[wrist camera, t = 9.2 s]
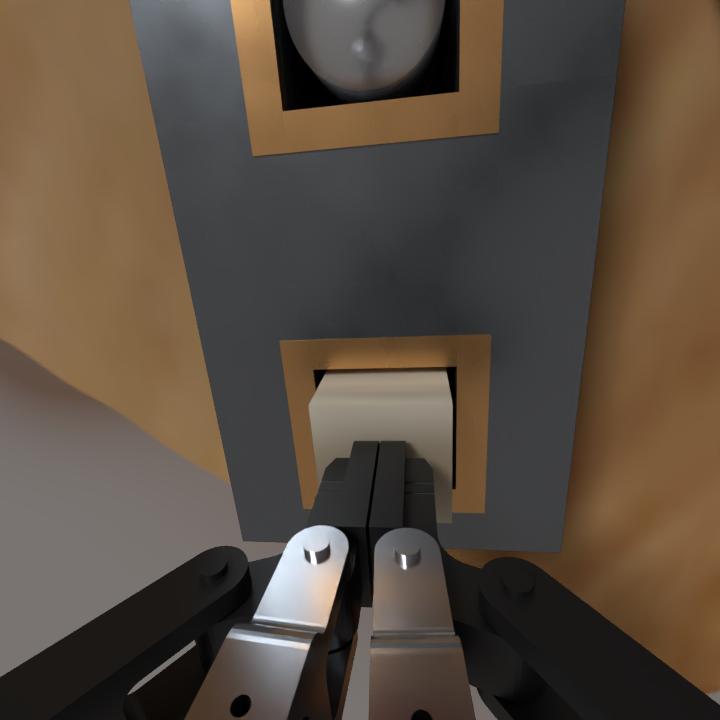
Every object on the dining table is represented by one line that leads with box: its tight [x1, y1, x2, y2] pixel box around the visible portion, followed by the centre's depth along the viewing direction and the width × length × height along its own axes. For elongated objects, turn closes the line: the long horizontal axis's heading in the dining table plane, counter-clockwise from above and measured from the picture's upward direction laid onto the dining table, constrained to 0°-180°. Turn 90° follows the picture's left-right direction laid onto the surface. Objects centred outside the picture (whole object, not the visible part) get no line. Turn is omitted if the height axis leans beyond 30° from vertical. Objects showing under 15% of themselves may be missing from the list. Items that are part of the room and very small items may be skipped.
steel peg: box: [283, 0, 445, 105], centre depth 13 cm, size 4×4×6 cm
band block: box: [129, 0, 626, 553], centre depth 15 cm, size 22×12×6 cm, turn 4°
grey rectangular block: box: [309, 367, 453, 523], centre depth 15 cm, size 4×4×6 cm
